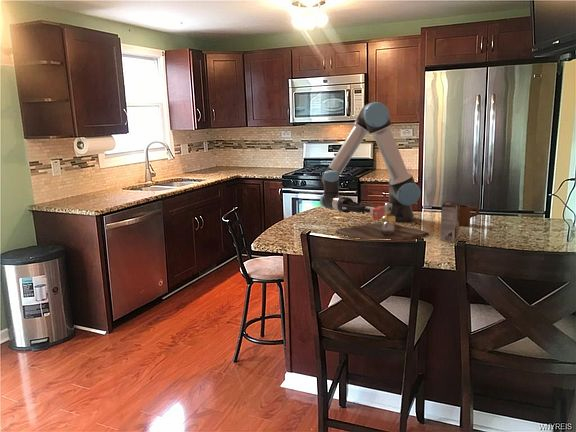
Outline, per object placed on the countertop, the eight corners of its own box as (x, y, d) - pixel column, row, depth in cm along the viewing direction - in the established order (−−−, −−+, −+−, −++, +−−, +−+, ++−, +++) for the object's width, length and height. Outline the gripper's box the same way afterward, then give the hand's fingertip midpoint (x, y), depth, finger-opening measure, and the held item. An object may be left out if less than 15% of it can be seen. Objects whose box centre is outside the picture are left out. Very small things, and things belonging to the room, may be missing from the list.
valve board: (383, 224, 239) (383, 221, 239) (428, 235, 214) (428, 232, 214) (335, 233, 223) (335, 230, 223) (379, 246, 198) (379, 243, 198)
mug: (476, 222, 236) (477, 204, 234) (480, 226, 229) (481, 207, 227) (452, 223, 238) (452, 204, 236) (455, 226, 230) (456, 207, 228)
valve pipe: (381, 225, 233) (382, 205, 230) (395, 225, 231) (395, 205, 229) (380, 236, 211) (381, 214, 209) (395, 237, 209) (395, 214, 207)
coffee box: (444, 236, 213) (445, 201, 209) (458, 237, 209) (460, 202, 206) (439, 240, 205) (440, 204, 202) (454, 242, 202) (456, 205, 198)
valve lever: (386, 210, 221) (386, 201, 220) (392, 210, 220) (392, 201, 219) (372, 219, 202) (372, 209, 202) (379, 219, 201) (379, 209, 200)
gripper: (353, 210, 231) (386, 217, 212) (332, 213, 225) (365, 221, 205) (353, 195, 230) (387, 201, 210) (332, 198, 223) (365, 205, 204)
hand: (376, 211), depth 208 cm, fingers closed
